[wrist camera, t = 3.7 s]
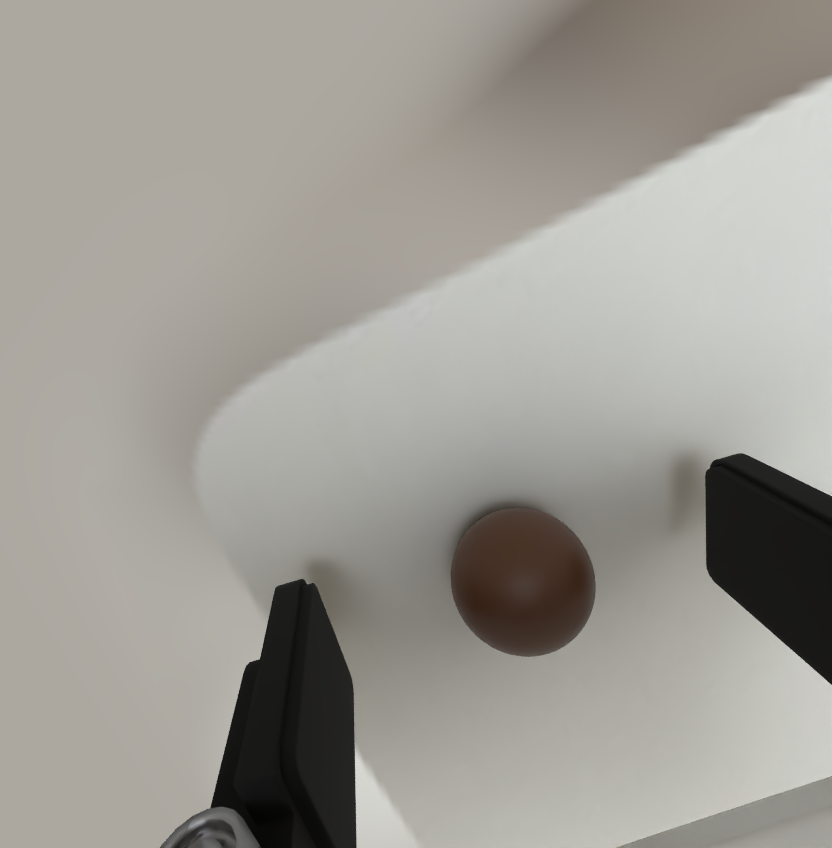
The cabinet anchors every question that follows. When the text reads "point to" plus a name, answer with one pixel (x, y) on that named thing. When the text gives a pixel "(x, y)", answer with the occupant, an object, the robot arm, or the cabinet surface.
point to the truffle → (522, 582)
